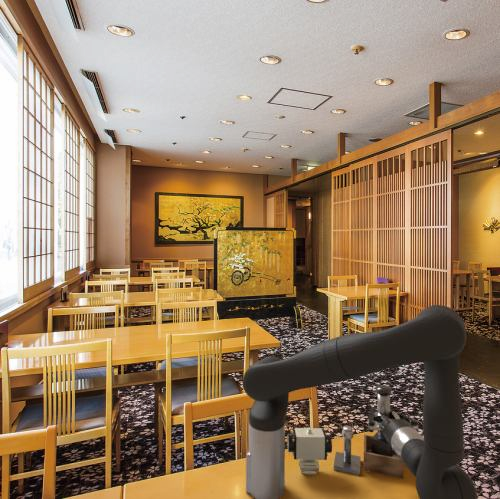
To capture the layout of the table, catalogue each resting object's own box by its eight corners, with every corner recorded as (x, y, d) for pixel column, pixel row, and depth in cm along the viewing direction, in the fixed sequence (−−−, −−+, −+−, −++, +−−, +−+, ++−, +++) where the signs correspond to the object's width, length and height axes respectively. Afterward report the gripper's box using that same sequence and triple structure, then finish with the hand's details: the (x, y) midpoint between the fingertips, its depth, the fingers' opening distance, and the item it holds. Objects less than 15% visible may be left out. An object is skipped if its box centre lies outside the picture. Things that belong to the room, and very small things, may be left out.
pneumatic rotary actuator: (332, 477, 95) (332, 433, 95) (288, 476, 95) (288, 432, 95) (327, 464, 100) (328, 422, 100) (286, 463, 100) (287, 422, 100)
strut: (371, 452, 100) (371, 388, 100) (378, 444, 104) (377, 382, 104) (390, 459, 97) (389, 392, 97) (396, 451, 101) (396, 387, 101)
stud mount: (333, 469, 98) (333, 431, 98) (335, 455, 104) (336, 419, 104) (359, 475, 96) (360, 436, 95) (360, 460, 102) (360, 424, 102)
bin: (363, 470, 98) (363, 452, 97) (364, 450, 107) (364, 434, 107) (403, 478, 94) (403, 460, 94) (400, 457, 104) (400, 440, 104)
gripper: (435, 427, 86) (403, 397, 103) (378, 427, 86) (355, 397, 103) (435, 457, 86) (403, 422, 103) (378, 458, 86) (355, 423, 103)
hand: (379, 410), depth 103 cm, fingers closed on strut, 3 cm apart
